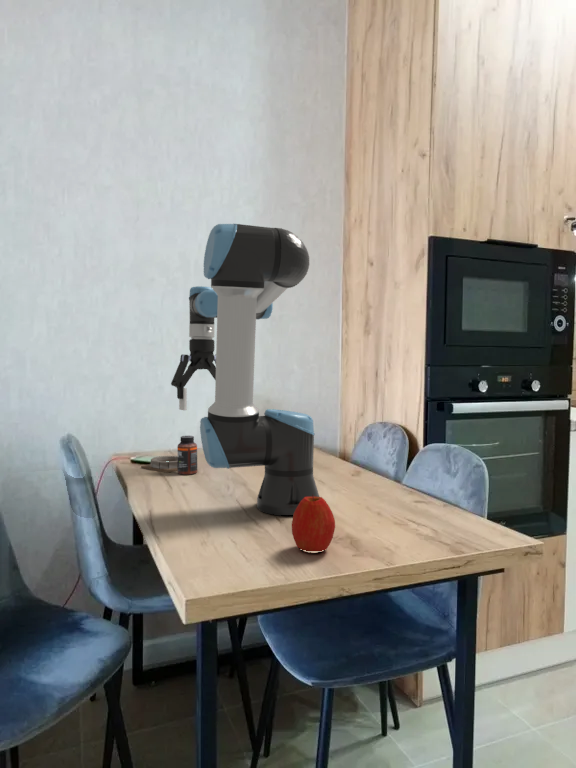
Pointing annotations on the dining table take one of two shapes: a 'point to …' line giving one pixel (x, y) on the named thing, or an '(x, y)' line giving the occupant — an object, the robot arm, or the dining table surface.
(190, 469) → the supplement bottle
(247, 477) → the dining table surface
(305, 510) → the apple
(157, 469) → the socket
